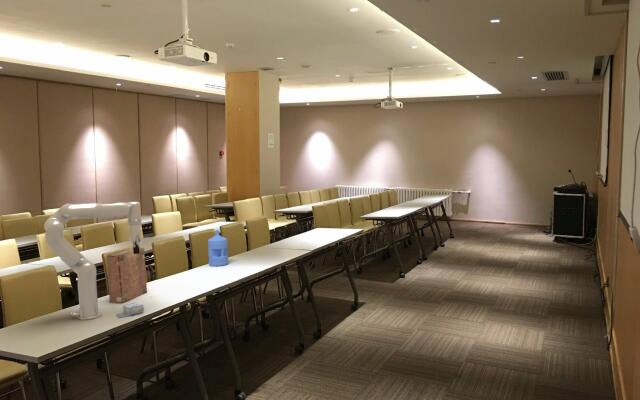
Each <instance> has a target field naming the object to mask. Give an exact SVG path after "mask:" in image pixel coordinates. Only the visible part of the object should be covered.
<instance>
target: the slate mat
mask: <svg viewBox="0 0 640 400" xmlns="http://www.w3.org/2000/svg"><path fill="white" fill-rule="evenodd" d="M141 313H142V312H141ZM141 313H138V314H134V315H129V314H125V313H123V312H120V313H115V316H116V317H117V319H121V318H126V317H127V318H128V317H133V316H139V315H142V314H141Z"/></svg>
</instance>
